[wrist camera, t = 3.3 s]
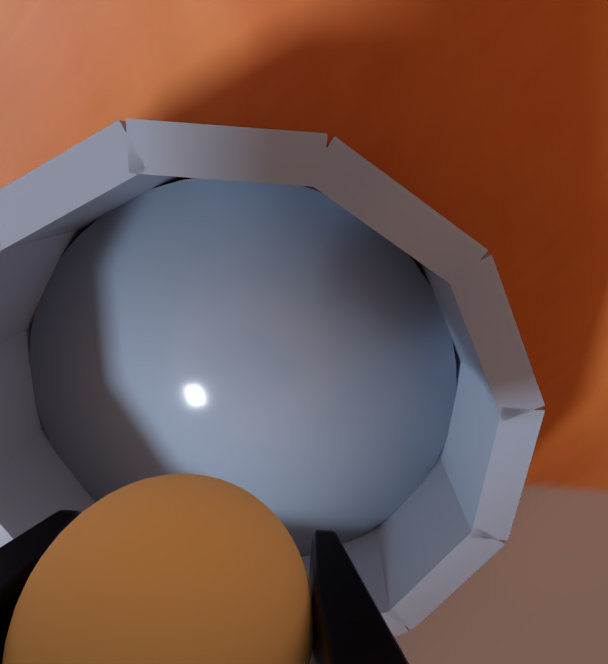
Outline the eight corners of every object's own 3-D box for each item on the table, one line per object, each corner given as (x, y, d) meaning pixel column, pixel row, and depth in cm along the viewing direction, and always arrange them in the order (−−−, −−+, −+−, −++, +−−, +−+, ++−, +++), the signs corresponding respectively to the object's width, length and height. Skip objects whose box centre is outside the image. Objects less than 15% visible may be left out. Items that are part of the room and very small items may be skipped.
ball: (306, 607, 10) (298, 926, 6) (105, 591, 10) (-50, 898, 6) (323, 433, 8) (328, 693, 4) (85, 414, 8) (-143, 655, 4)
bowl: (436, 577, 17) (467, 683, 14) (45, 548, 17) (-25, 646, 14) (530, 158, 12) (618, 154, 9) (-24, 117, 12) (-164, 96, 9)
